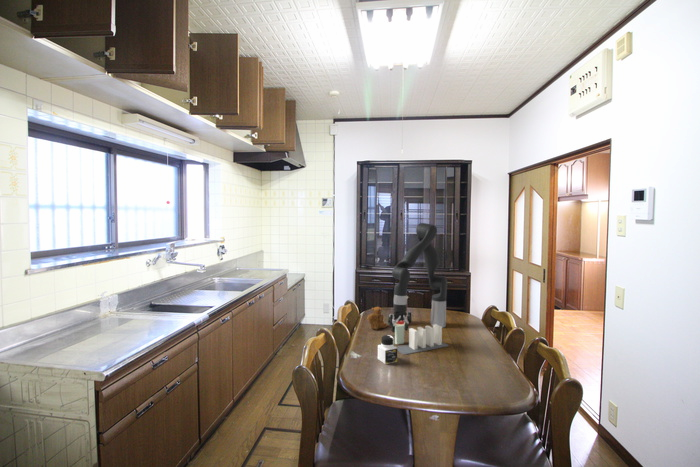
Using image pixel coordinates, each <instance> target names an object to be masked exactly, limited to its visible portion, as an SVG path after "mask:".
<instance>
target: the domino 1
mask: <svg viewBox="0 0 700 467" xmlns="http://www.w3.org/2000/svg"><path fill="white" fill-rule="evenodd" d="M404 327H405V326H404V325H395V333H394V344H395V345H401V344H405V329H404Z"/></svg>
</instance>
